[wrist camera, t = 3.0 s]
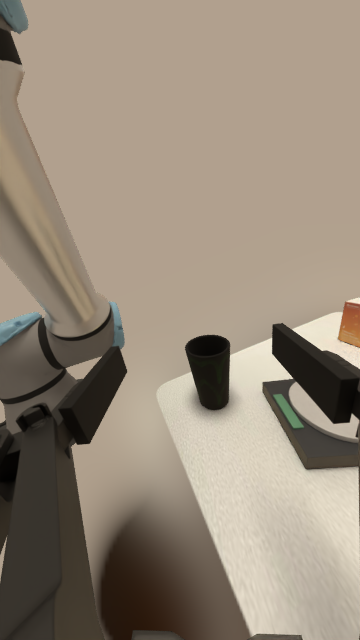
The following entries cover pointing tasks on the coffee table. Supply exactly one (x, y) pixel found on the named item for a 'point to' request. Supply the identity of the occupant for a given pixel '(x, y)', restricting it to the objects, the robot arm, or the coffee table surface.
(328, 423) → the scale
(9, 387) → the robot arm
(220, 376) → the cup
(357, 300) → the small box
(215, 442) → the coffee table surface
